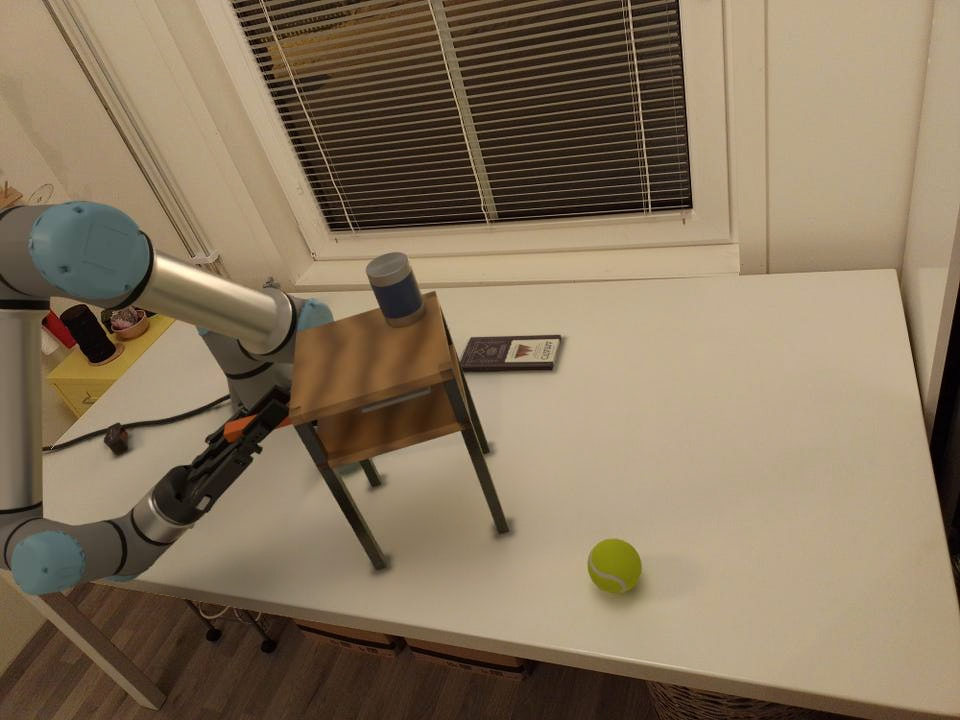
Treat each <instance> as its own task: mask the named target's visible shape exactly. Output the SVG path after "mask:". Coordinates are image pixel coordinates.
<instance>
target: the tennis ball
mask: <svg viewBox="0 0 960 720" xmlns="http://www.w3.org/2000/svg"><path fill="white" fill-rule="evenodd" d="M642 570H643V567H642V560H641V557H640V554H639V552H638V551H637V550H636V548H635V547H634V546H633V545H631V543H629V542H627V541H625V540H623V539H620V538H606V539H604V540H601V541H599V542H597V544H596V545H595V546H594V547H593V548H592V549H591V550H590V552H589V555H588V558H587V572H588V576H589V577H590V579H591V580H592V582H593V583H594V585H595V586H596V587H597V588H598V589H600V590H601V591H603V592H605V593H608V594H623V593H627V592H628V591H630V590H632V589H633V588H634V587H635V586H637V584H638V582H639V580H640V578H641V575H642Z"/></svg>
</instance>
